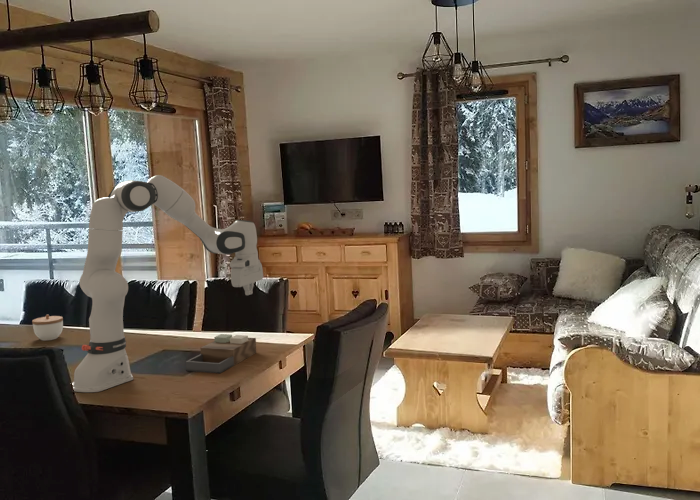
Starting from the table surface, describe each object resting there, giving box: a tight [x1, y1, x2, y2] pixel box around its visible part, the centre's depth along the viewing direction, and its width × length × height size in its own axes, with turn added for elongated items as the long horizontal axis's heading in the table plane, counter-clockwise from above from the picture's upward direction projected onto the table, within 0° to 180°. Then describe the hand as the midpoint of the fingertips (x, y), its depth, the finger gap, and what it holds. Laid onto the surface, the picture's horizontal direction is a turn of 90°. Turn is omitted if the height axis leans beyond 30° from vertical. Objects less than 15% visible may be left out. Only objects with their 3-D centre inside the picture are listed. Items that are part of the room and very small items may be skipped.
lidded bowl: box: [31, 314, 64, 341], centre depth 286 cm, size 13×13×11 cm
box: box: [185, 353, 235, 374], centre depth 232 cm, size 10×14×4 cm
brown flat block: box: [199, 337, 258, 366], centre depth 245 cm, size 18×14×6 cm
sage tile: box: [213, 333, 233, 343], centre depth 247 cm, size 5×5×2 cm
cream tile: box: [230, 334, 249, 344], centre depth 245 cm, size 5×5×2 cm
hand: (248, 294), depth 252 cm, fingers closed
